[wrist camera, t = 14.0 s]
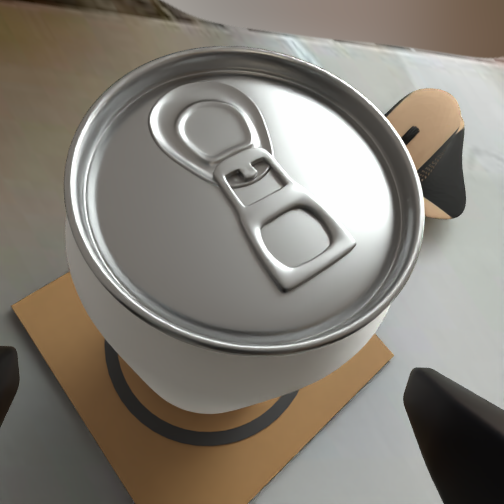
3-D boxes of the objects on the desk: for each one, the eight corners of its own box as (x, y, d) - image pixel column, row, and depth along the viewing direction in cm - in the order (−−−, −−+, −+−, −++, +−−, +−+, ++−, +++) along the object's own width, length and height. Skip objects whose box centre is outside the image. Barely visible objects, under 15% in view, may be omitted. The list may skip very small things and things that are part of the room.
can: (231, 242, 19) (292, -6, 8) (312, 355, 17) (528, 235, 6) (106, 313, 16) (-47, 99, 6) (186, 451, 15) (186, 520, 4)
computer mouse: (502, 155, 25) (556, 109, 21) (422, 254, 21) (472, 219, 17) (421, 94, 26) (459, 41, 22) (330, 177, 22) (359, 128, 18)
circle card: (178, 570, 14) (178, 574, 13) (13, 307, 16) (9, 305, 16) (391, 356, 18) (395, 354, 18) (233, 177, 21) (234, 173, 20)
